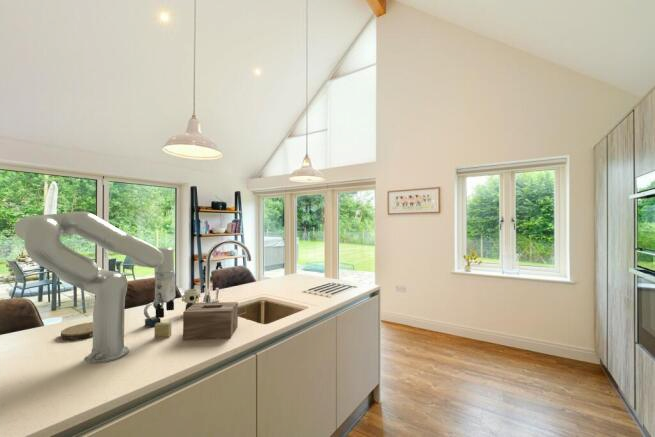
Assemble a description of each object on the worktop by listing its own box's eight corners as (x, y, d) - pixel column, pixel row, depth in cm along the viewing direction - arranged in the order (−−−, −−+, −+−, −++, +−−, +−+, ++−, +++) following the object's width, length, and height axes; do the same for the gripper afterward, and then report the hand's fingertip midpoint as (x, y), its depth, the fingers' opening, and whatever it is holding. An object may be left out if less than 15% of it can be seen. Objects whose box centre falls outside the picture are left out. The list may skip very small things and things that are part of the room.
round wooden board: (53, 337, 127) (54, 330, 127) (96, 326, 141) (96, 319, 141) (70, 344, 120) (71, 337, 120) (113, 331, 134) (113, 325, 134)
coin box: (230, 338, 126) (230, 310, 126) (182, 339, 124) (183, 311, 124) (237, 326, 140) (237, 301, 140) (194, 328, 138) (195, 302, 138)
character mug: (185, 317, 153) (185, 293, 154) (177, 315, 157) (178, 291, 157) (203, 312, 163) (204, 289, 163) (196, 310, 166) (196, 287, 167)
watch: (164, 323, 144) (164, 301, 144) (147, 328, 137) (148, 305, 137) (157, 321, 147) (157, 300, 147) (141, 326, 140) (141, 303, 140)
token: (168, 337, 126) (169, 324, 126) (154, 338, 126) (154, 324, 126) (171, 335, 129) (171, 322, 129) (157, 336, 128) (157, 322, 128)
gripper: (164, 279, 120) (165, 320, 120) (181, 271, 137) (182, 307, 137) (145, 280, 119) (146, 321, 119) (164, 271, 136) (165, 307, 136)
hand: (165, 313), depth 128 cm, fingers open, 9 cm apart
